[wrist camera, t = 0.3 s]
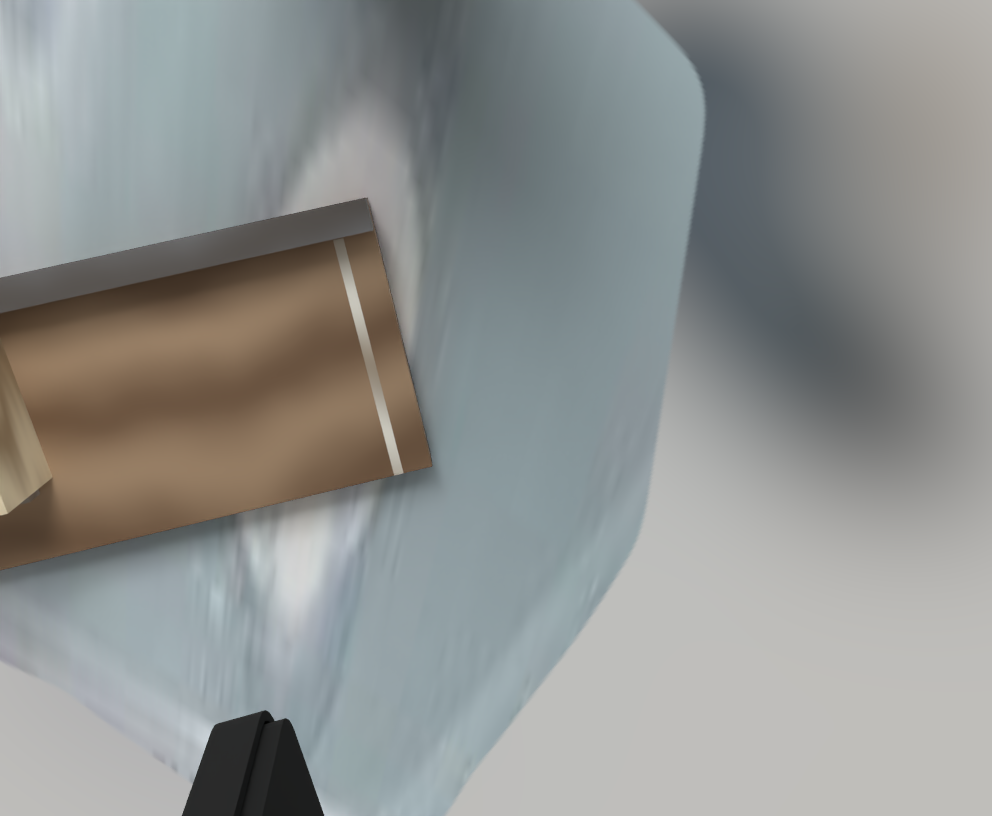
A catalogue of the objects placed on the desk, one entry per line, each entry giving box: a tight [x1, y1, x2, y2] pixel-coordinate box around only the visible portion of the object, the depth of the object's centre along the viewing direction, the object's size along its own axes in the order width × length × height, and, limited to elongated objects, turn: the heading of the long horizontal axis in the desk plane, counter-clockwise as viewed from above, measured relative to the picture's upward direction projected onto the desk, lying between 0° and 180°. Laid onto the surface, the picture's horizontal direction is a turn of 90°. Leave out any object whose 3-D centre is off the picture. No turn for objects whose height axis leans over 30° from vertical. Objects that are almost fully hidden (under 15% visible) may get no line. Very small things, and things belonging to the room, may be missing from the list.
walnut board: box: [0, 198, 432, 570], centre depth 41 cm, size 14×26×4 cm, turn 102°
